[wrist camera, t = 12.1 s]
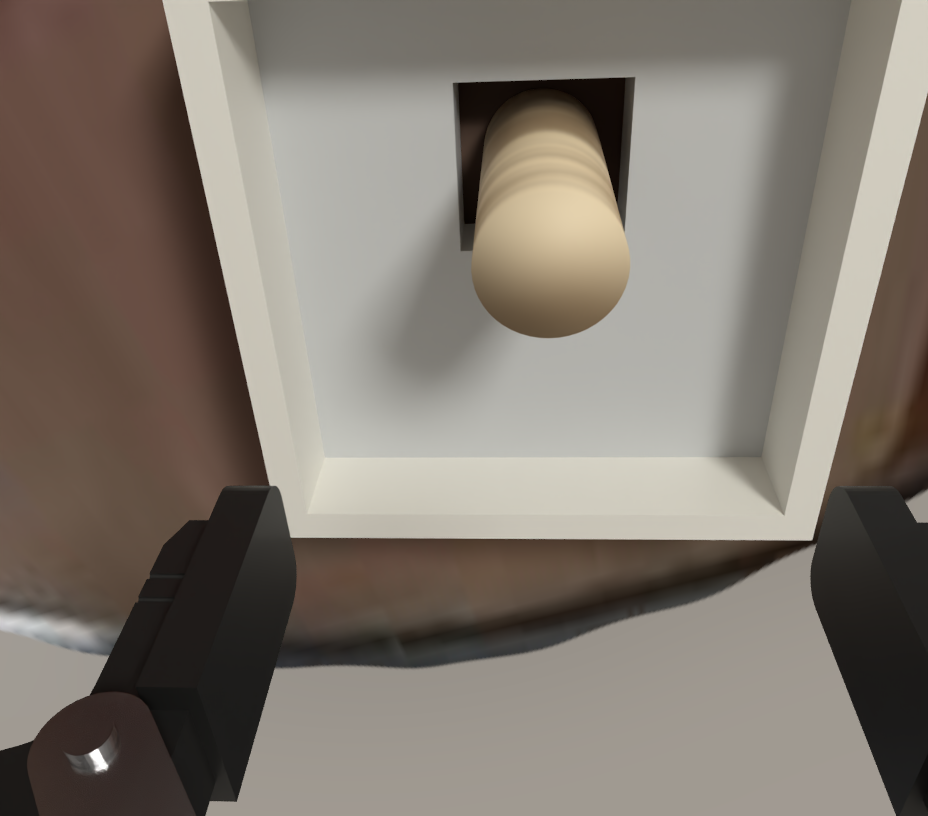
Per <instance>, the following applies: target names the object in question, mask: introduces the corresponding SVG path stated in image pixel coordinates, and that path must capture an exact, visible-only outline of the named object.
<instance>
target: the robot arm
mask: <svg viewBox="0 0 928 816" xmlns="http://www.w3.org/2000/svg"><path fill="white" fill-rule="evenodd" d="M295 590H296V561H295V555H294V551H293V546H292V542H291V537H290V532H289V528H288V523H287V518H286V514H285V509H284V505H283V500H282V496H281V493H280V490H279V488H278V487H277V486H226V487H225V488H224V489H223V490H222V492H221V493H220V496H219V498H218V500H217V502H216V505H215V507H214V509H213V512H212V514H211V516H210V518H209V520H189V521H188V522H187V523H186V524H185V525H184V526H183V527H182V528H181V529H180V530H179V531H178V532H177V533H176V534H175V535H174V536H173V537H172V538H171V539H169V540H168V541H167V542H166V543H165V544H164V545H163V547H162V549H161V551H160V553H159V556H158V558H157V560H156V562H155V564H154V566H153V568H152V570H151V572H150V579H147V580H146V582H145V584H144V586H143V588H142V590H141V592H140V594H139V601H138V603H135V605H134V607H133V609H132V611H131V613H130V615H129V617H128V619H127V621H126V623H125V625H124V627H123V629H122V631H121V633H120V635H119V637H118V640H117V642H116V644H115V646H114V648H113V650H112V652H111V654H110V656H109V658H108V660H107V662H106V664H105V666H104V668H103V670H102V672H101V674H100V677H99V679H98V681H97V683H96V685H95V687H94V689H93V690H92V692H91V694H90V696H87V697H85V698H82V699H80V700H77V701H75V702H74V703H72V704H70V705H68V706H66V707H65V708H64V709H62V710H61V711H60V712H58V713H57V714H56V715H55V716H54V717H52V718H51V719H50V720H49V721H48V722H47V723H46V724H45V725H44V727H43V728H42V729H41V730H40V732H39V733H38V735H37V736H36V738H35V739H34V740H33V741H31V742H28V743H25V744H22V745H19V746H16V747H12V748H8V749H5V750H1V751H0V816H205V815H206V811H207V808H208V805H209V801H234V802H237V799H238V795H239V792H240V788H241V785H242V781H243V778H244V774H245V771H246V767H247V764H248V760H249V756H250V753H251V749H252V745H253V742H254V739H255V735H256V732H257V728H258V725H259V721H260V718H261V714H262V711H263V707H264V704H265V700H266V697H267V693H268V690H269V686H270V682H271V679H272V676H273V672H274V668H275V665H276V661H277V658H278V654H279V651H280V647H281V644H282V640H283V637H284V633H285V630H286V626H287V623H288V619H289V616H290V612H291V609H292V605H293V601H294V597H295ZM811 591H812V597H813V601H814V605H815V608H816V611H817V613H818V616H819V618H820V621H821V624H822V626H823V629H824V631H825V634H826V636H827V639H828V642H829V644H830V647H831V649H832V652H833V654H834V657H835V660H836V662H837V665H838V667H839V670H840V672H841V675H842V678H843V680H844V683H845V685H846V688H847V690H848V693H849V695H850V698H851V701H852V703H853V706H854V708H855V711H856V713H857V716H858V718H859V721H860V724H861V726H862V729H863V731H864V734H865V736H866V739H867V741H868V744H869V747H870V749H871V752H872V755H873V757H874V760H875V762H876V765H877V767H878V770H879V773H880V775H881V778H882V780H883V783H884V785H885V788H886V790H887V793H888V796H889V798H890V801H891V803H892V806H893V809H894V811H895V813H896V816H928V523H917V522H916V520H915V519H914V517H913V515H912V513H911V511H910V510H909V508H908V506H907V505H906V503H905V501H904V499H903V498H902V496H901V494H900V493H899V492H898V490H897V489H896V488H894V487H891V486H838V487H835V488H834V489H833V490H832V492H831V494H830V497H829V500H828V504H827V508H826V511H825V515H824V519H823V523H822V526H821V530H820V534H819V538H818V541H817V545H816V549H815V553H814V556H813V560H812V565H811Z"/></svg>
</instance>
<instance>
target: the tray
mask: <svg viewBox="0 0 928 816" xmlns="http://www.w3.org/2000/svg"><path fill="white" fill-rule="evenodd" d="M163 5H164V9H165V14H166V18H167V23H168V27H169V32H170V36H171V41H172V45H173V50H174V54H175V59H176V64H177V68H178V73H179V77H180V82H181V86H182V91H183V95H184V100H185V104H186V109H187V113H188V118H189V122H190V127H191V131H192V136H193V140H194V145H195V149H196V154H197V159H198V163H199V168H200V172H201V177H202V181H203V186H204V190H205V195H206V199H207V204H208V208H209V213H210V217H211V222H212V226H213V231H214V235H215V240H216V245H217V249H218V254H219V258H220V263H221V267H222V272H223V276H224V281H225V285H226V290H227V294H228V299H229V303H230V308H231V312H232V317H233V321H234V326H235V331H236V335H237V340H238V344H239V349H240V353H241V358H242V362H243V367H244V371H245V376H246V380H247V385H248V389H249V394H250V398H251V403H252V407H253V412H254V416H255V421H256V426H257V430H258V435H259V439H260V444H261V448H262V453H263V457H264V462H265V466H266V471H267V475H268V480H269V484H270V486H277V487H278V488H279V490H280V493H281V496H282V500H283V505H284V509H285V514H286V518H287V523H288V528H289V532H290V537H291V538H465V539H656V540H812V539H813V535H814V531H815V527H816V523H817V519H818V515H819V511H820V508H821V504H822V500H823V496H824V492H825V488H826V484H827V480H828V477H829V473H830V469H831V465H832V461H833V457H834V453H835V449H836V446H837V442H838V438H839V434H840V430H841V426H842V422H843V418H844V415H845V411H846V407H847V403H848V399H849V395H850V391H851V387H852V383H853V380H854V376H855V372H856V368H857V364H858V360H859V356H860V352H861V349H862V345H863V341H864V337H865V333H866V329H867V325H868V321H869V318H870V314H871V310H872V306H873V302H874V298H875V294H876V290H877V287H878V283H879V279H880V275H881V271H882V267H883V263H884V259H885V256H886V252H887V248H888V244H889V240H890V236H891V232H892V228H893V225H894V221H895V217H896V213H897V209H898V205H899V201H900V197H901V194H902V190H903V186H904V182H905V178H906V174H907V170H908V166H909V163H910V159H911V155H912V151H913V147H914V143H915V139H916V135H917V132H918V128H919V124H920V120H921V116H922V112H923V108H924V104H925V101H926V97H927V93H928V0H163ZM619 77H626V78H625V94H624V109H623V125H622V141H621V157H620V173H619V189H618V204H617V207H618V210H619V214H620V218H621V221H622V225H623V229H624V233H625V236H626V240H627V244H628V248H629V253H630V273H629V279H628V282H627V285H626V288H625V290H624V293H623V295H622V297H621V298H620V300H619V301H618V303H617V305H616V306H615V307H614V308H613V309H612V311H611V312H610V313H609V314H608V315H607V316H606V317H605V318H603V319H602V320H601V321H599V322H598V323H597V324H595V325H594V326H592V327H590V328H588V329H586V330H584V331H582V332H579V333H577V334H573V335H570V336H566V337H560V338H537V337H530V336H527V335H523V334H520V333H517V332H515V331H513V330H510V329H509V328H507V327H505V326H503V325H502V324H501V323H499V322H498V321H497V320H495V319H494V318H493V317H492V316H491V315H490V314H489V313H488V311H487V310H486V309H485V308H484V306H483V305H482V303H481V302H480V300H479V298H478V296H477V294H476V291H475V288H474V285H473V281H472V273H471V263H472V252H473V243H474V233H475V224H464V206H463V183H462V160H461V137H460V114H459V91H458V83H459V82H491V81H523V80H555V79H587V78H619Z"/></svg>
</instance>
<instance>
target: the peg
mask: <svg viewBox="0 0 928 816" xmlns="http://www.w3.org/2000/svg"><path fill="white" fill-rule="evenodd" d="M471 273H472V281H473V285H474V288H475V291H476V294H477V296H478V298H479V300H480V302H481V303H482V305H483V306H484V308H485V309H486V310H487V311H488V313H489V314H490V315H491V316H492V317H493V318H494V319H495V320H497V321H498V322H499V323H501V324H502V325H503V326H505V327H507V328H509V329H510V330H513V331H515V332H517V333H520V334H523V335H527V336H530V337H537V338H560V337H566V336H570V335H573V334H577V333H579V332H582V331H584V330H586V329H588V328H590V327H592V326H594V325H595V324H597V323H598V322H599V321H601V320H602V319H603V318H605V317H606V316H607V315H608V314H609V313H610V312H611V311H612V309H613V308H614V307H615V306H616V305H617V303H618V301H619V300H620V298H621V297H622V295H623V293H624V290H625V288H626V285H627V282H628V279H629V273H630V253H629V248H628V244H627V240H626V236H625V233H624V229H623V225H622V221H621V218H620V214H619V210H618V207H617V203H616V199H615V195H614V192H613V188H612V184H611V181H610V177H609V173H608V169H607V166H606V162H605V158H604V154H603V151H602V147H601V143H600V140H599V136H598V132H597V129H596V125H595V122H594V120H593V118H592V116H591V114H590V113H589V111H588V110H587V109H586V108H585V106H584V105H583V104H582V103H581V102H580V101H578V100H577V99H576V98H574V97H573V96H571V95H569V94H567V93H565V92H563V91H560V90H556V89H550V88H537V89H531V90H527V91H524V92H521V93H519V94H517V95H515V96H513V97H511V98H510V99H509V100H507V101H506V102H505V103H504V104H503V105H502V106H501V107H500V108H499V109H498V110H497V111H496V113H495V114H494V116H493V117H492V119H491V121H490V123H489V125H488V128H487V131H486V134H485V140H484V149H483V158H482V168H481V177H480V187H479V196H478V205H477V215H476V224H475V233H474V243H473V252H472V263H471Z"/></svg>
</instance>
